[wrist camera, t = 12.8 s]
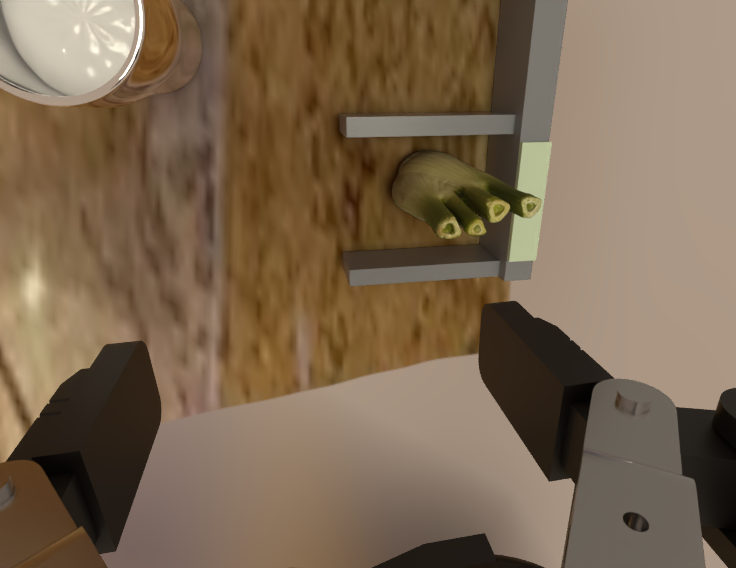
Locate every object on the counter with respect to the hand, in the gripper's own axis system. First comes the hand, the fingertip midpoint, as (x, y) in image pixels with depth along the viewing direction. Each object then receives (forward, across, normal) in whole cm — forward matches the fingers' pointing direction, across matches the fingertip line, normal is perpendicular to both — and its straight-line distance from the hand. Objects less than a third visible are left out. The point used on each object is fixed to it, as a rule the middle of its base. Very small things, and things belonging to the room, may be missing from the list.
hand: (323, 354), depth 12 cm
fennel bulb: (+25, -10, +2) cm, 27 cm away
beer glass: (+25, +8, -8) cm, 28 cm away
